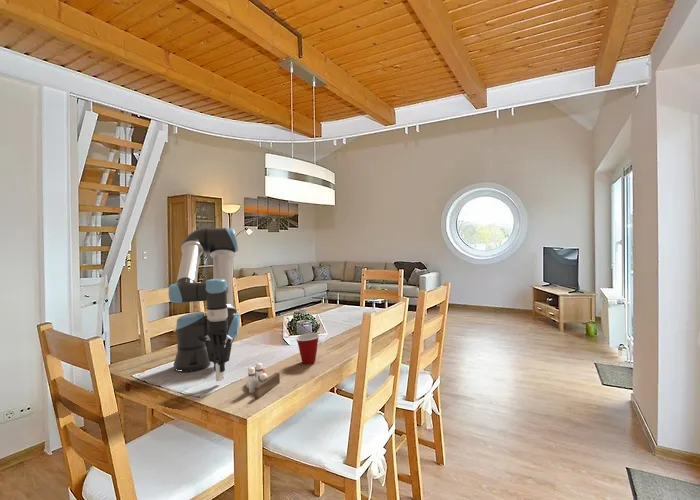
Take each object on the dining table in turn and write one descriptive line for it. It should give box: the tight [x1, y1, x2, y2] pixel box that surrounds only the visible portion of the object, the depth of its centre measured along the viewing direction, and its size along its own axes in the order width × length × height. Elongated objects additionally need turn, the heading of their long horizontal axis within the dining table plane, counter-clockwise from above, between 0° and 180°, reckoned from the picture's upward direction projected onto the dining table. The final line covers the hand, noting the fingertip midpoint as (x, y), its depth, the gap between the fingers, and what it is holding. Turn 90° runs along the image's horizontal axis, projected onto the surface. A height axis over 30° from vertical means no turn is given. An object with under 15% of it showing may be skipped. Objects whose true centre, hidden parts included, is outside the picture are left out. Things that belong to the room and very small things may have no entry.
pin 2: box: [255, 362, 264, 386], centre depth 148 cm, size 2×2×9 cm
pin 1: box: [247, 366, 257, 394], centre depth 143 cm, size 2×2×9 cm
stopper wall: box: [254, 372, 281, 400], centre depth 144 cm, size 2×15×4 cm, turn 161°
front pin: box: [245, 372, 269, 389], centre depth 146 cm, size 2×2×9 cm
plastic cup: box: [295, 332, 320, 365], centre depth 175 cm, size 11×11×12 cm
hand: (219, 379), depth 151 cm, fingers closed
